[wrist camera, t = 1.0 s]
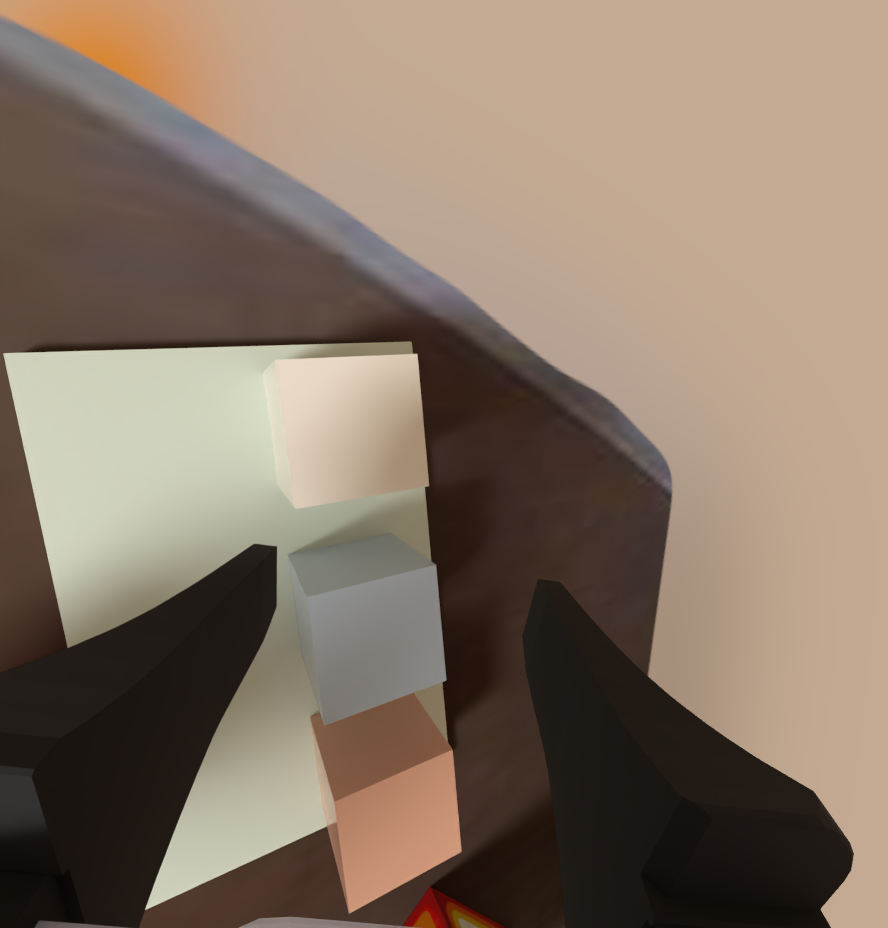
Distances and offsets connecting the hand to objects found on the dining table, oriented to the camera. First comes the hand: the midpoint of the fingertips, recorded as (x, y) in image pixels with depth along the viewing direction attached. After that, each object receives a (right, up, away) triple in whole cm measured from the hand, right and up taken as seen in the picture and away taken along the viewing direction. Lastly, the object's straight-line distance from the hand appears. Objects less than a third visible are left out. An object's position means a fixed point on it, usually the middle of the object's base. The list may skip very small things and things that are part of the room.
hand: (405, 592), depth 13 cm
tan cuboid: (-5, +6, +11) cm, 13 cm away
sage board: (-8, -4, +12) cm, 14 cm away
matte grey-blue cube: (-4, -3, +12) cm, 13 cm away
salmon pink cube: (-3, -12, +13) cm, 18 cm away
